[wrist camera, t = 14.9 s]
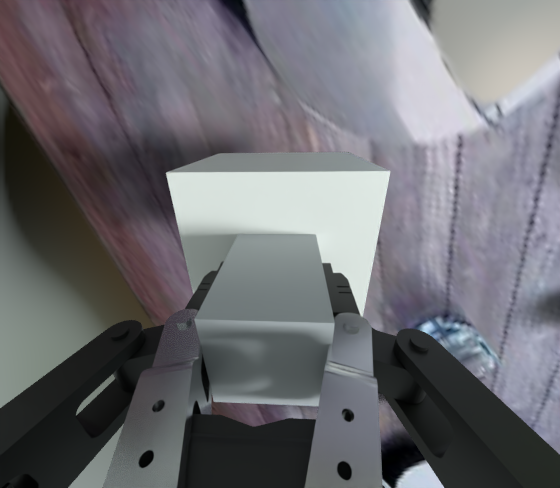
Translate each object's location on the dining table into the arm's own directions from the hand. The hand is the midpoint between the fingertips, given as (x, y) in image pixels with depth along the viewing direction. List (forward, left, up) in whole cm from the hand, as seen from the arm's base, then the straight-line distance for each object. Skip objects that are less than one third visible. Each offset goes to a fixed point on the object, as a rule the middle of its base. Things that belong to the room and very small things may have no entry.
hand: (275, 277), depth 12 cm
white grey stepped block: (0, 0, -10) cm, 10 cm away
